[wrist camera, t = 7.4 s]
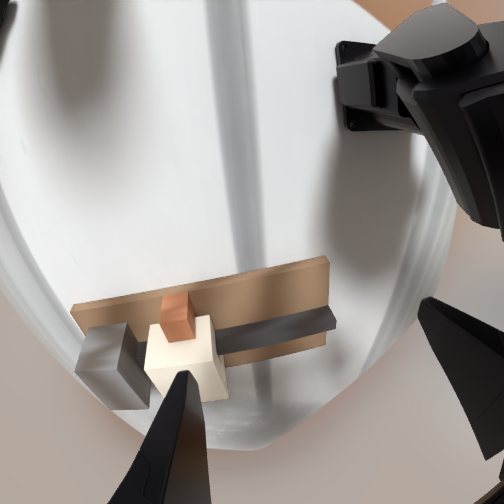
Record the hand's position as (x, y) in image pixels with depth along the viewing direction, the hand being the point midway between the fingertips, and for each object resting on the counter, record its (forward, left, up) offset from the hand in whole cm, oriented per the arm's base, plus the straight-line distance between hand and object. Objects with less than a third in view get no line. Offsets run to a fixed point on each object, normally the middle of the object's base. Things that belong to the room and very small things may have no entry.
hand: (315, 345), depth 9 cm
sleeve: (+7, +10, -10) cm, 16 cm away
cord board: (+6, +10, -12) cm, 16 cm away
